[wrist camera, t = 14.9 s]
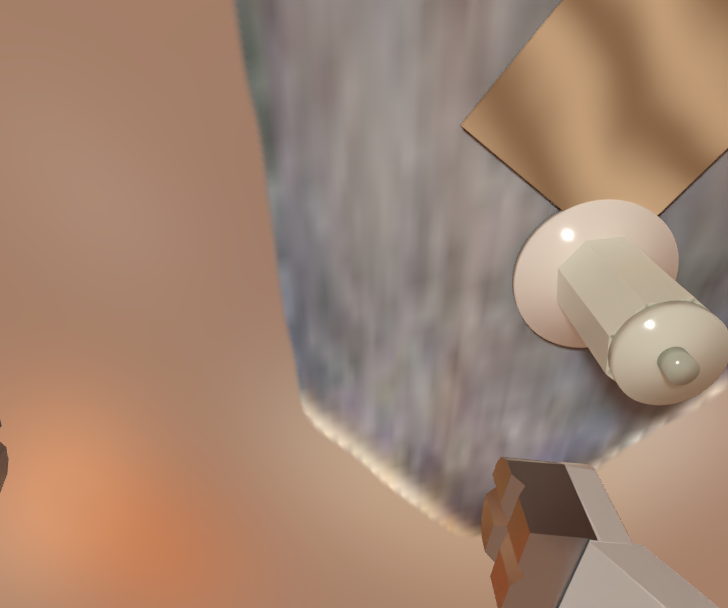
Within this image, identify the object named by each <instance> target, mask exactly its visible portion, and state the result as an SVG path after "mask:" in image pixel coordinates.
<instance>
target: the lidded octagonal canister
mask: <svg viewBox="0 0 728 608" xmlns="http://www.w3.org/2000/svg"><path fill="white" fill-rule="evenodd" d="M557 302H558V303H559V305H560V306H561V308H562V309H563V311H564V312H565V314H566V315H567V317H568V318H569V320H570V321H571V323H572V324H573V326H574V327H575V329H576V330H577V332H578V333H579V335H580V336H581V338H582V339H583V341H584V342H585V344H586V345H587V347H588V348H589V350H590V351H591V353H592V354H593V356H594V357H595V359H596V360H597V362H598V363H599V365H600V366H601V368H602V369H603V371H604V372H605V374H606V375H608V376H609V377H610V378H612V379H613V380H614V381H616V382H617V384H618V385H619V387H620V388H621V389H622V391H623V392H624V393H625V394H626V395H627V396H629V397H630V398H632V399H633V400H636V401H638V402H641V403H644V404H649V405H669V404H675V403H679V402H682V401H685V400H688V399H690V398H692V397H694V396H696V395H698V394H700V393H701V392H703V391H704V390H706V389H707V388H708V387H709V386H711V385H712V384H713V383H714V382H715V381H716V380H717V379H718V378H719V376H720V375H721V374H722V372H723V371H724V369H725V367H726V366H727V363H728V329H727V328H726V326H725V325H724V323H723V322H722V321H720V320H719V319H718V318H717V317H716V316H715V315H714V314H712V313H711V312H710V311H709V310H708V309H707V308H706V307H704V306H703V305H702V304H701V303H700V302H699V301H698V300H696V299H695V298H694V297H693V296H692V295H691V294H690V293H689V292H687V291H686V290H685V289H684V288H683V287H682V286H680V285H679V284H678V283H677V282H676V281H675V280H674V279H672V278H671V277H670V276H669V275H668V274H667V273H666V272H664V271H663V270H662V269H661V268H660V267H659V266H657V265H656V264H655V263H654V262H653V261H652V260H651V259H649V258H648V257H647V256H646V255H645V254H644V253H643V252H641V251H640V250H639V249H638V248H637V247H636V246H634V245H633V244H632V243H631V242H630V241H629V240H628V239H626V238H625V237H624V236H623V237H614V238H606V239H597V240H588V241H585V242H584V243H583V244H582V245H581V246H580V247H579V248H578V249H577V250H576V251H575V252H574V253H573V254H572V255H571V256H570V257H569V258H568V259H567V260H566V261H565V262H564V263H563V264H562V265H561V266H559V267H558V279H557Z"/></svg>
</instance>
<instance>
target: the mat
mask: <svg viewBox="0 0 728 608" xmlns="http://www.w3.org/2000/svg"><path fill="white" fill-rule="evenodd" d="M461 126H462V127H463V128H464V129H466V130H467V131H468V132H469V133H470V134H472V135H473V136H474V137H475V138H476V139H478V140H479V141H480V142H481V143H482V144H484V145H485V146H486V147H487V148H488V149H490V150H491V151H492V152H493V153H494V154H496V155H497V156H498V157H499V158H500V159H501V160H503V161H504V162H505V163H506V164H507V165H509V166H510V167H511V168H512V169H513V170H515V171H516V172H517V173H518V174H519V175H521V176H522V177H523V178H524V179H525V180H527V181H528V182H529V183H530V184H531V185H533V186H534V187H535V188H536V189H537V190H539V191H540V192H541V193H542V194H543V195H544V196H546V197H547V198H548V199H549V200H550V201H552V202H553V203H554V204H555V205H556V206H558V207H559V208H560V209H561V210H562V211H565V210H567V209H569V208H571V207H574V206H576V205H579V204H582V203H586V202H590V201H595V200H605V199H614V200H623V201H628V202H632V203H635V204H638V205H641V206H643V207H644V208H646V209H648V210H650V211H651V212H653V213H654V214H655V215H659V214H660V213H661V212H662V211H663V210H664V209H665V208H666V207H667V206H668V205H669V204H670V203H671V202H672V201H673V200H674V199H675V198H676V197H677V196H678V195H679V194H680V193H681V192H682V191H683V190H685V189H686V188H687V187H688V186H689V185H690V184H691V183H692V182H693V181H694V180H695V179H696V178H697V177H698V176H699V175H700V174H701V173H702V172H703V171H704V170H705V169H706V168H707V167H708V166H710V165H711V164H712V163H713V162H714V161H715V160H716V159H717V158H718V157H719V156H720V155H721V154H722V153H723V152H724V151H725V150H726V149H727V148H728V0H562V1H561V2H560V3H559V5H558V6H557V7H556V8H555V9H554V11H553V12H552V13H551V14H550V16H549V17H548V18H547V19H546V20H545V22H544V23H543V24H542V25H541V27H540V28H539V29H538V30H537V32H536V33H535V34H534V35H533V36H532V38H531V39H530V40H529V41H528V43H527V44H526V45H525V46H524V48H523V49H522V50H521V51H520V52H519V54H518V55H517V56H516V57H515V59H514V60H513V61H512V62H511V63H510V65H509V66H508V67H507V68H506V70H505V71H504V72H503V73H502V75H501V76H500V77H499V78H498V79H497V81H496V82H495V83H494V84H493V86H492V87H491V88H490V89H489V91H488V92H487V93H486V94H485V95H484V97H483V98H482V99H481V100H480V102H479V103H478V104H477V105H476V106H475V108H474V109H473V110H472V111H471V113H470V114H469V115H468V116H467V118H466V119H465V120H464V121H463V122H462V124H461Z"/></svg>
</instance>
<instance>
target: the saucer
mask: <svg viewBox="0 0 728 608" xmlns="http://www.w3.org/2000/svg"><path fill="white" fill-rule="evenodd" d="M623 236H624V237H625V238H626V239H628V240H629V241H630V242H631V243H632V244H633V245H634V246H636V247H637V248H638V249H639V250H640V251H641V252H643V253H644V254H645V255H646V256H647V257H648V258H649V259H651V260H652V261H653V262H654V263H655V264H656V265H657V266H659V267H660V268H661V269H662V270H663V271H664V272H666V273H667V274H668V275H669V276H670V277H671V278H672V279H674V280H675V281H676V278H677V273H678V264H679V257H678V249H677V245H676V241H675V239H674V237H673V234H672V232H671V231H670V229H669V228H668V226H667V225H666V224H665V223H664V222H663V221H662V220H661V219H660V218H659V217H658V216H657V215H655V214H654V213H653V212H651V211H650V210H648V209H646V208H644V207H643V206H641V205H638V204H635V203H632V202H628V201H623V200H614V199H605V200H595V201H590V202H586V203H582V204H579V205H576V206H574V207H571V208H569V209H567V210H565V211H562V210H560V211H558V212H556V213H554V214H553V215H551V216H550V217H549V218H547V219H546V220H545V221H543V222H542V223H541V224H540V225H539V226H538V227H537V228H536V229H535V230H534V231H533V233H532V234H531V235H530V236H529V237H528V239H527V240H526V242H525V243H524V245H523V246H522V248H521V250H520V252H519V254H518V257H517V260H516V262H515V266H514V270H513V278H512V288H513V295H514V299H515V303H516V305H517V307H518V310H519V312H520V314H521V315H522V317H523V319H524V320H525V322H526V323H527V324H528V325H529V327H530V328H531V329H532V330H533V331H535V332H536V333H537V334H538V335H540V336H541V337H543V338H544V339H546V340H548V341H551V342H553V343H556V344H559V345H562V346H567V347H576V348H587V345H586V344H585V342H584V341H583V339H582V338H581V336H580V335H579V333H578V332H577V330H576V329H575V327H574V326H573V324H572V323H571V321H570V320H569V318H568V317H567V315H566V314H565V312H564V311H563V309H562V308H561V306H560V305H559V303H558V302H557V279H558V267H559V266H561V265H562V264H563V263H564V262H565V261H566V260H567V259H568V258H569V257H570V256H571V255H572V254H573V253H574V252H575V251H576V250H577V249H578V248H579V247H580V246H581V245H582V244H583V243H584V242H585V241H588V240H597V239H606V238H614V237H623Z"/></svg>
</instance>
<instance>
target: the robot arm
mask: <svg viewBox="0 0 728 608" xmlns="http://www.w3.org/2000/svg"><path fill="white" fill-rule="evenodd" d="M1 426H2V425H1V421H0V427H1ZM7 471H8V456H7V449H6V447H5V446H4V445H3V444H2V443H1V442H0V492H1V489H2V487H3V484H4V481H5V478H6V476H7ZM493 478H494V481H495V485H496V487H495V488H494V489H493V490H491V491H490V492H488V493H487V494H486V497H485V501H484V505H483V508H482V520H481V530H482V540H483V545H484V549H485V552H486V553H487V554H488V555H489V557H490V558H491V559H492V560H493V561H494V562H495V564H494V567H493V570H492V573H491V580H492V585H493V589H494V594H495V598H496V602H497V607H498V608H719V607H718V606H717V605H715V604H714V603H713V602H712V601H710V600H709V599H708V598H707V597H705V596H704V595H703V594H702V593H701V592H699V591H698V590H697V589H696V588H694V587H693V586H692V585H691V584H689V583H688V582H687V581H686V580H685V579H683V578H682V577H681V576H680V575H678V574H677V573H676V572H675V571H674V570H672V569H671V568H670V567H669V566H667V565H666V564H665V563H664V562H663V561H661V560H660V559H659V558H658V557H656V556H655V555H654V554H653V553H651V552H650V551H649V550H648V549H647V548H645V547H644V546H643V545H635V544H633V543H632V541H631V539H630V537H629V535H628V533H627V531H626V529H625V527H624V525H623V523H622V521H621V519H620V517H619V515H618V513H617V511H616V510H615V507H614V506H613V504H612V502H611V500H610V498H609V496H608V494H607V492H606V490H605V488H604V486H603V484H602V482H601V480H600V478H599V476H598V474H597V472H596V470H595V469H594V468H593V467H592V466H591V465H589V464H579V463H567V462H559V463H557V462H550V461H539V460H528V459H518V458H507V457H501V458H500V459H499V460H498V462H497V463H496V466H495V469H494V472H493Z"/></svg>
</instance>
